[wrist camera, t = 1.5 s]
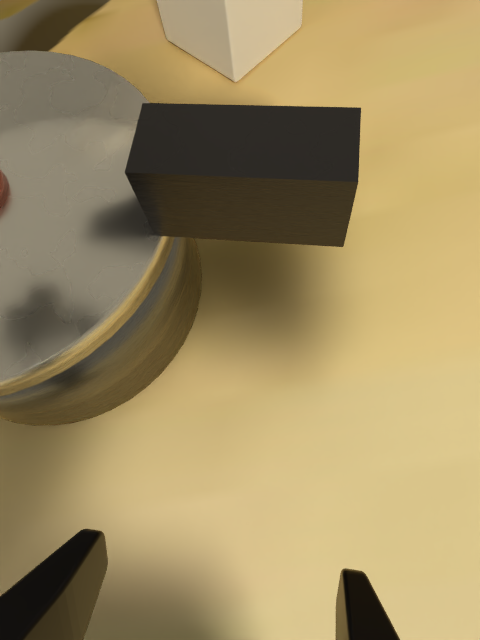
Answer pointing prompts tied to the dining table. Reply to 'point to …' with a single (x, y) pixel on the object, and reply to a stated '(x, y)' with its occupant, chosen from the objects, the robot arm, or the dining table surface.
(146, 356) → the cooker pot
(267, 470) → the dining table surface
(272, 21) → the milk carton
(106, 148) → the cooker lid
